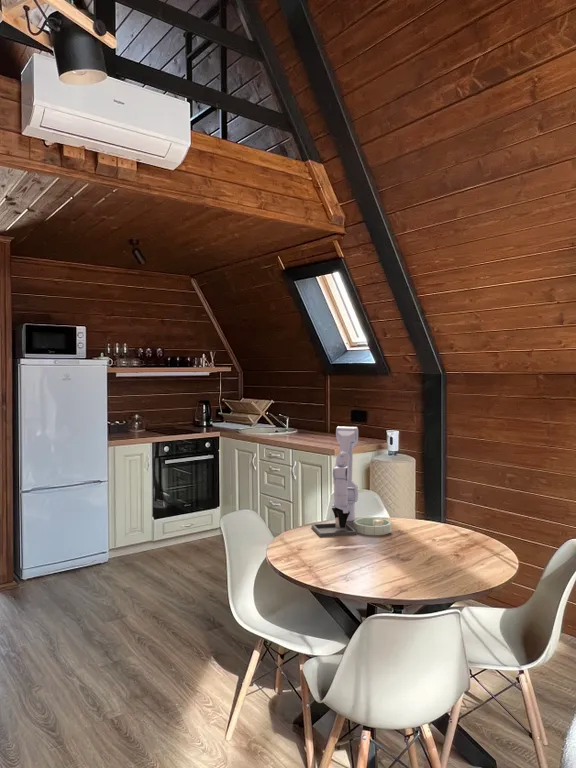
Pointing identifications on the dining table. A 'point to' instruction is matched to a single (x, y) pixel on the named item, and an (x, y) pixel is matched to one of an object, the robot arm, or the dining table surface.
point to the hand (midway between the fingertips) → (340, 525)
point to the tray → (332, 530)
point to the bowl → (371, 526)
